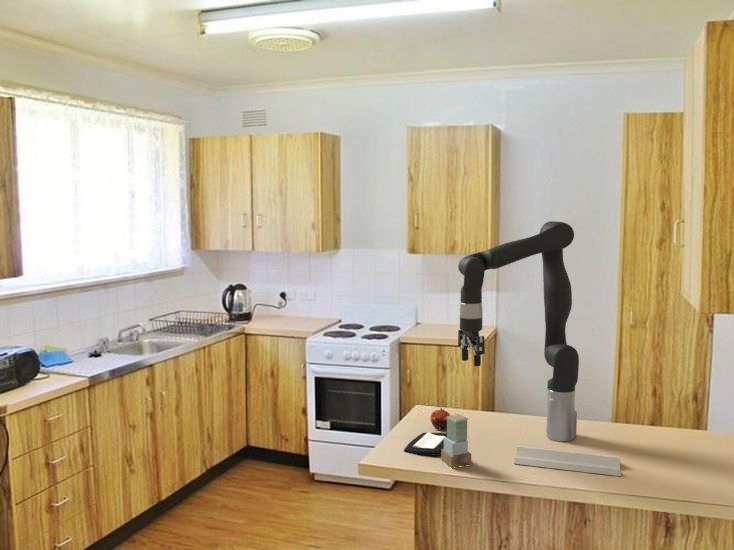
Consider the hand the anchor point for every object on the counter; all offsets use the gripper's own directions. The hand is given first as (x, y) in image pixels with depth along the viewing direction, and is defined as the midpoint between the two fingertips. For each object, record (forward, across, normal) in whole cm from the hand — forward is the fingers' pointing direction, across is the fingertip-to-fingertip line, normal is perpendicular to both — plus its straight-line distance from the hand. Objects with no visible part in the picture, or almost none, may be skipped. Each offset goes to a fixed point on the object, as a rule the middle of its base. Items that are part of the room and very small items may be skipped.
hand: (470, 363), depth 220 cm
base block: (+28, -14, +12) cm, 34 cm away
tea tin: (+20, -14, +12) cm, 27 cm away
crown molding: (+29, -26, -20) cm, 44 cm away
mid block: (+24, -14, +13) cm, 30 cm away
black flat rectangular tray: (+29, +3, +14) cm, 32 cm away
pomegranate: (+28, +17, +3) cm, 33 cm away
